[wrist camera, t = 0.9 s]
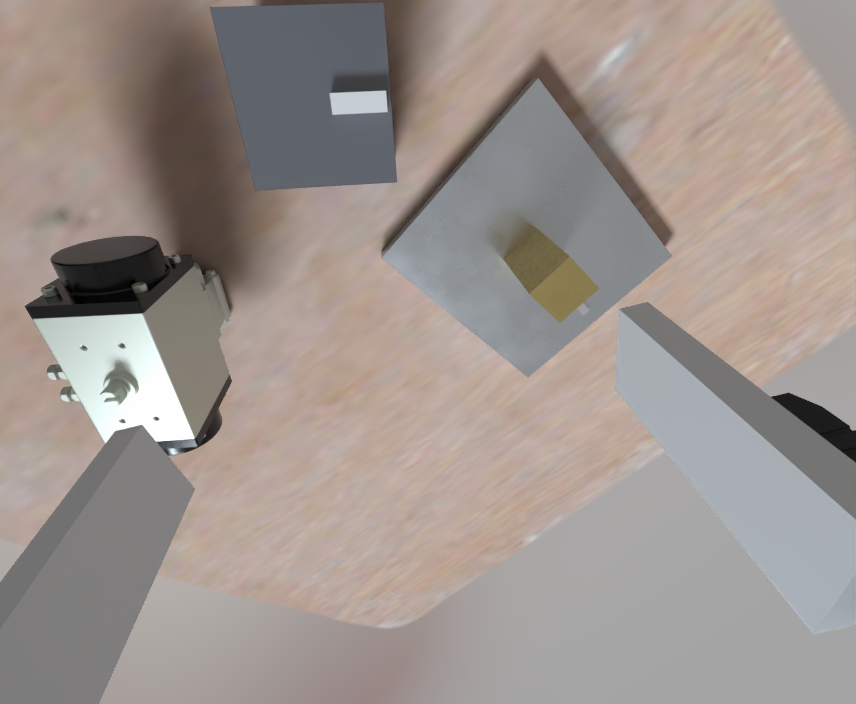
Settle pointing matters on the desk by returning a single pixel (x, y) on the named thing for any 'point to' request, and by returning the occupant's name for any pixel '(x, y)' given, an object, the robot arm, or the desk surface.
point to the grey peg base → (527, 235)
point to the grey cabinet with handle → (310, 92)
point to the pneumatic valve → (137, 339)
